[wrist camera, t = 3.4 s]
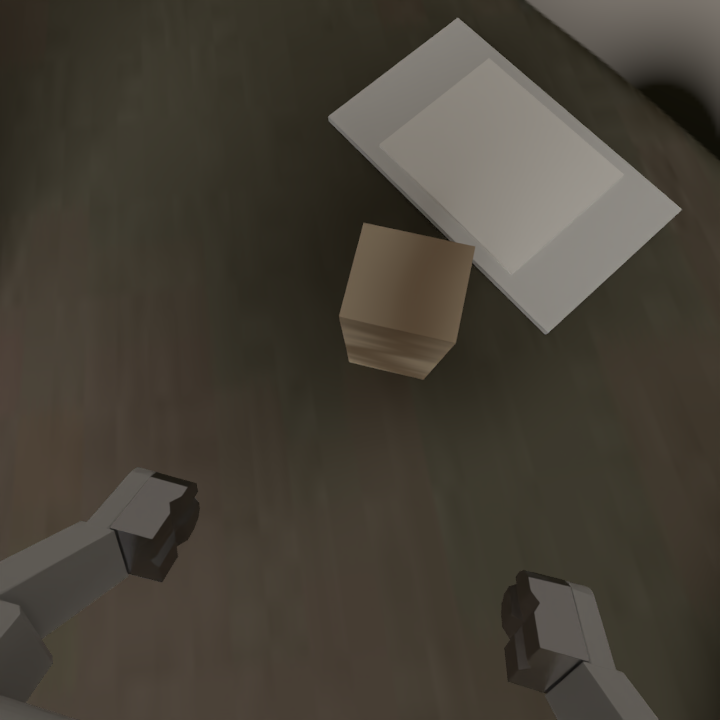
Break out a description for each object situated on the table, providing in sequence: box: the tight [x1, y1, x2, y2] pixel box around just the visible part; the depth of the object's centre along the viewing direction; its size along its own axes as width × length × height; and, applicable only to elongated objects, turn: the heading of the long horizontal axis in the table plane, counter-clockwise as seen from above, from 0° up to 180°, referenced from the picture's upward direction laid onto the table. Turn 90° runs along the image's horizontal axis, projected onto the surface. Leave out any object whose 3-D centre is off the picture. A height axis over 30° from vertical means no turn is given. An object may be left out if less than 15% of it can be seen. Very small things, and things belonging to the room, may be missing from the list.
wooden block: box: [339, 223, 475, 380], centre depth 20 cm, size 4×4×9 cm
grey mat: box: [328, 18, 682, 335], centre depth 26 cm, size 20×12×1 cm, turn 41°
